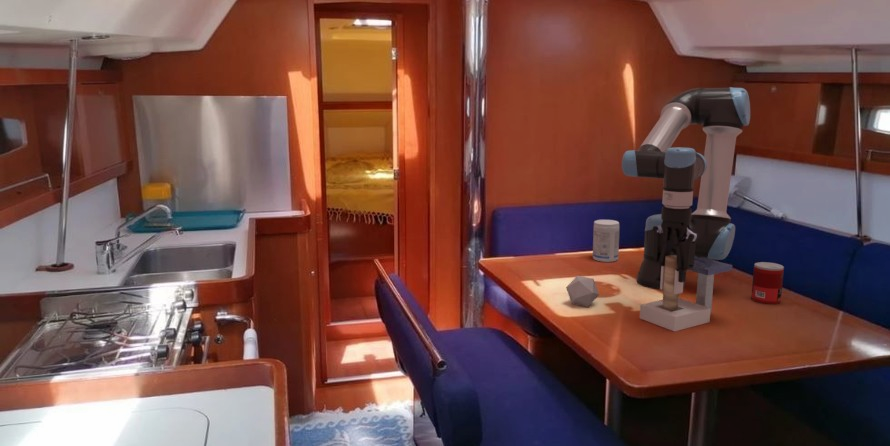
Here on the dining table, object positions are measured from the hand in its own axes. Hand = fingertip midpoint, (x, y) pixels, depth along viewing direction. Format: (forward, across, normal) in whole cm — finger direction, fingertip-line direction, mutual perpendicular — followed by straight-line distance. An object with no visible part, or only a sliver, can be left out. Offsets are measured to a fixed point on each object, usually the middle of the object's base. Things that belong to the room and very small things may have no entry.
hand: (671, 290), depth 173 cm
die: (+9, -24, -10) cm, 27 cm away
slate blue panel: (+9, 0, +11) cm, 14 cm away
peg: (+5, 0, 0) cm, 5 cm away
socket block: (+9, 0, +2) cm, 9 cm away
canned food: (+9, +2, +40) cm, 41 cm away
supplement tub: (+9, -60, +34) cm, 70 cm away
